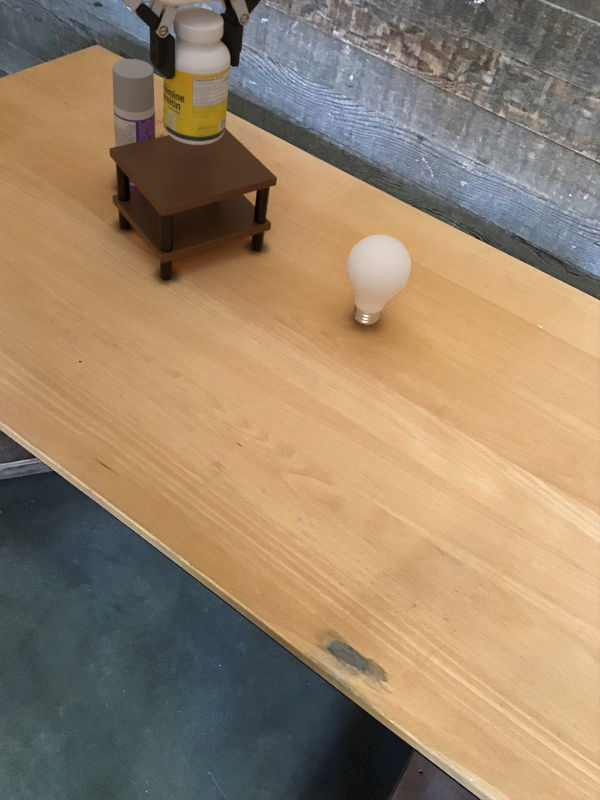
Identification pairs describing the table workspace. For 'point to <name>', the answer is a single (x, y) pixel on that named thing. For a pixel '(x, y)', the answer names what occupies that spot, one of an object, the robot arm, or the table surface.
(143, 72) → the container
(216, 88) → the pill bottle
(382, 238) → the light bulb
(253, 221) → the stand
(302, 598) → the table surface
